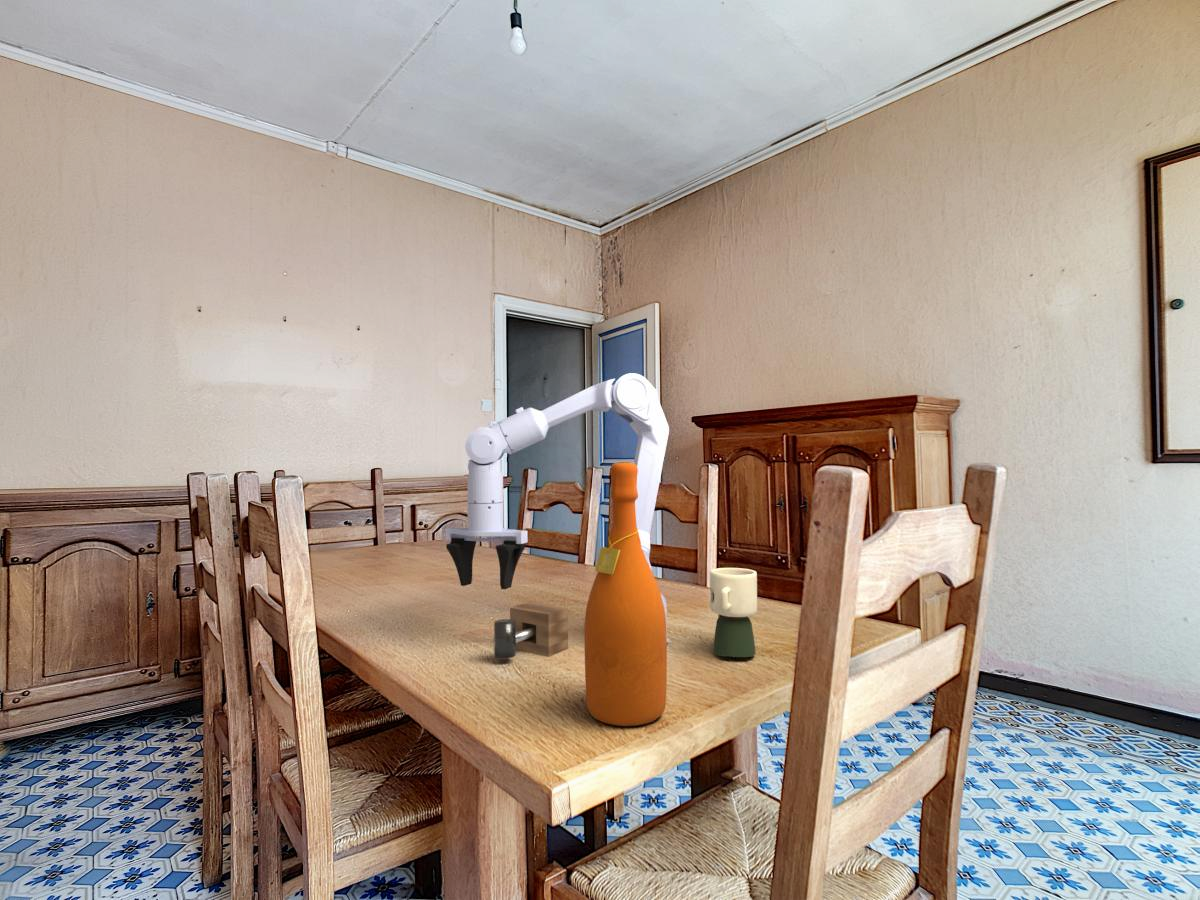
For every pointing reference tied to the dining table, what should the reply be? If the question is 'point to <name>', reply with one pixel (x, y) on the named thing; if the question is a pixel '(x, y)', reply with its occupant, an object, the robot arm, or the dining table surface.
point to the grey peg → (508, 637)
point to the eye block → (542, 627)
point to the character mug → (733, 610)
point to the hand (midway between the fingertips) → (485, 586)
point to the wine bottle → (625, 621)
